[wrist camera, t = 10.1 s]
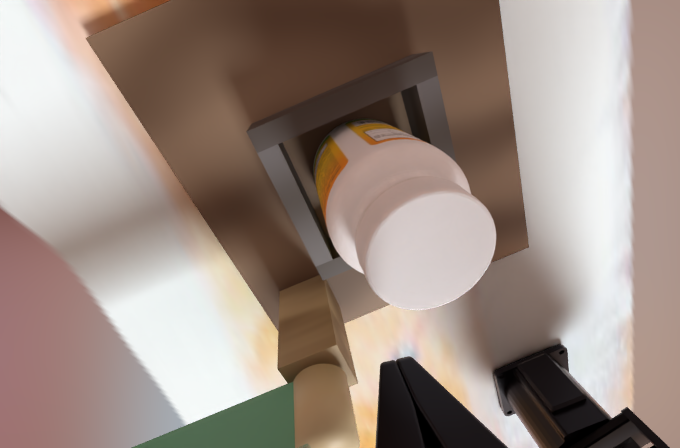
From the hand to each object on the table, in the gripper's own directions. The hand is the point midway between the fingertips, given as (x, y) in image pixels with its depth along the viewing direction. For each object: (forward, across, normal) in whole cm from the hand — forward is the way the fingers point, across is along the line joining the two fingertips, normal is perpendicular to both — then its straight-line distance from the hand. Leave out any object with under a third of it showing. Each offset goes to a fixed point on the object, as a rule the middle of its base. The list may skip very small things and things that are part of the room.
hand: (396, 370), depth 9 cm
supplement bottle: (+12, -2, -2) cm, 12 cm away
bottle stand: (+12, -2, -2) cm, 12 cm away
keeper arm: (+5, +8, +7) cm, 11 cm away
